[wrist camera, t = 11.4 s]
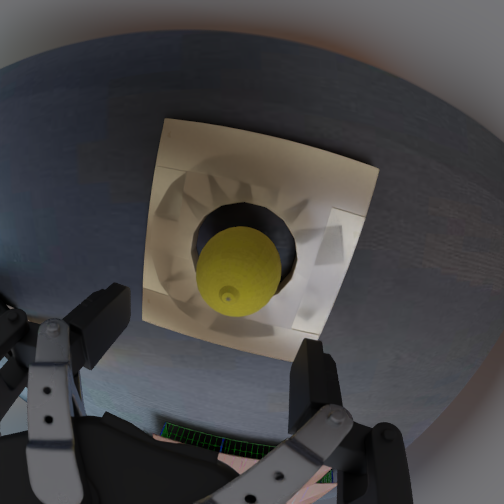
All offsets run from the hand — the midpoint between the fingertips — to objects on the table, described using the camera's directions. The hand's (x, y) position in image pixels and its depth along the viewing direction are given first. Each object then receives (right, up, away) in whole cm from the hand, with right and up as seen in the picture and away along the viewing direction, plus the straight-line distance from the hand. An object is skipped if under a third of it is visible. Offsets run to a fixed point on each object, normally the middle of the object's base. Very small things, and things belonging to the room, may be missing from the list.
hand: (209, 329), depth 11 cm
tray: (+1, +4, +11) cm, 11 cm away
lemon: (+1, +4, +11) cm, 11 cm away
